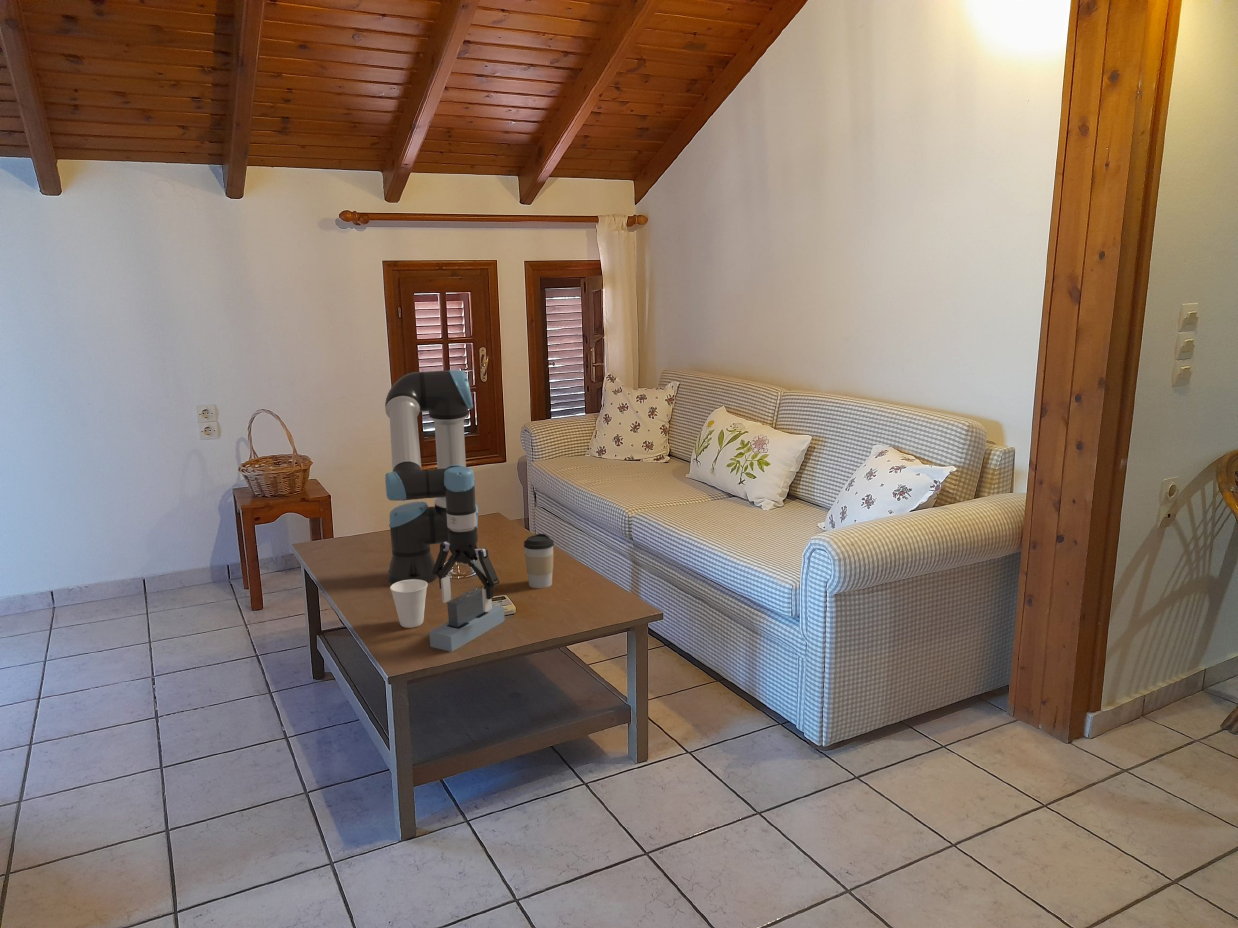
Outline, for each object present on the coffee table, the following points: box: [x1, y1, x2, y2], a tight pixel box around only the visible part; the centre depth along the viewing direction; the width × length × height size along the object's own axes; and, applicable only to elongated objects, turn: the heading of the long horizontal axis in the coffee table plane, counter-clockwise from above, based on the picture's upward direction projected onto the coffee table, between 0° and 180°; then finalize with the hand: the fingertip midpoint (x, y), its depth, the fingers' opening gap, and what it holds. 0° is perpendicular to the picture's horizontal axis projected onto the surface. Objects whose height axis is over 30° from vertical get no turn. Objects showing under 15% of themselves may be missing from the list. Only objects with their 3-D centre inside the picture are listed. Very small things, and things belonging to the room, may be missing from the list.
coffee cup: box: [523, 533, 555, 589], centre depth 266 cm, size 9×9×15 cm
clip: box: [446, 587, 486, 629], centre depth 232 cm, size 3×12×10 cm, turn 150°
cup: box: [389, 579, 429, 629], centre depth 239 cm, size 10×10×11 cm
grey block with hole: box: [428, 604, 506, 653], centre depth 232 cm, size 7×22×4 cm, turn 150°
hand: (467, 605), depth 231 cm, fingers open, 13 cm apart
